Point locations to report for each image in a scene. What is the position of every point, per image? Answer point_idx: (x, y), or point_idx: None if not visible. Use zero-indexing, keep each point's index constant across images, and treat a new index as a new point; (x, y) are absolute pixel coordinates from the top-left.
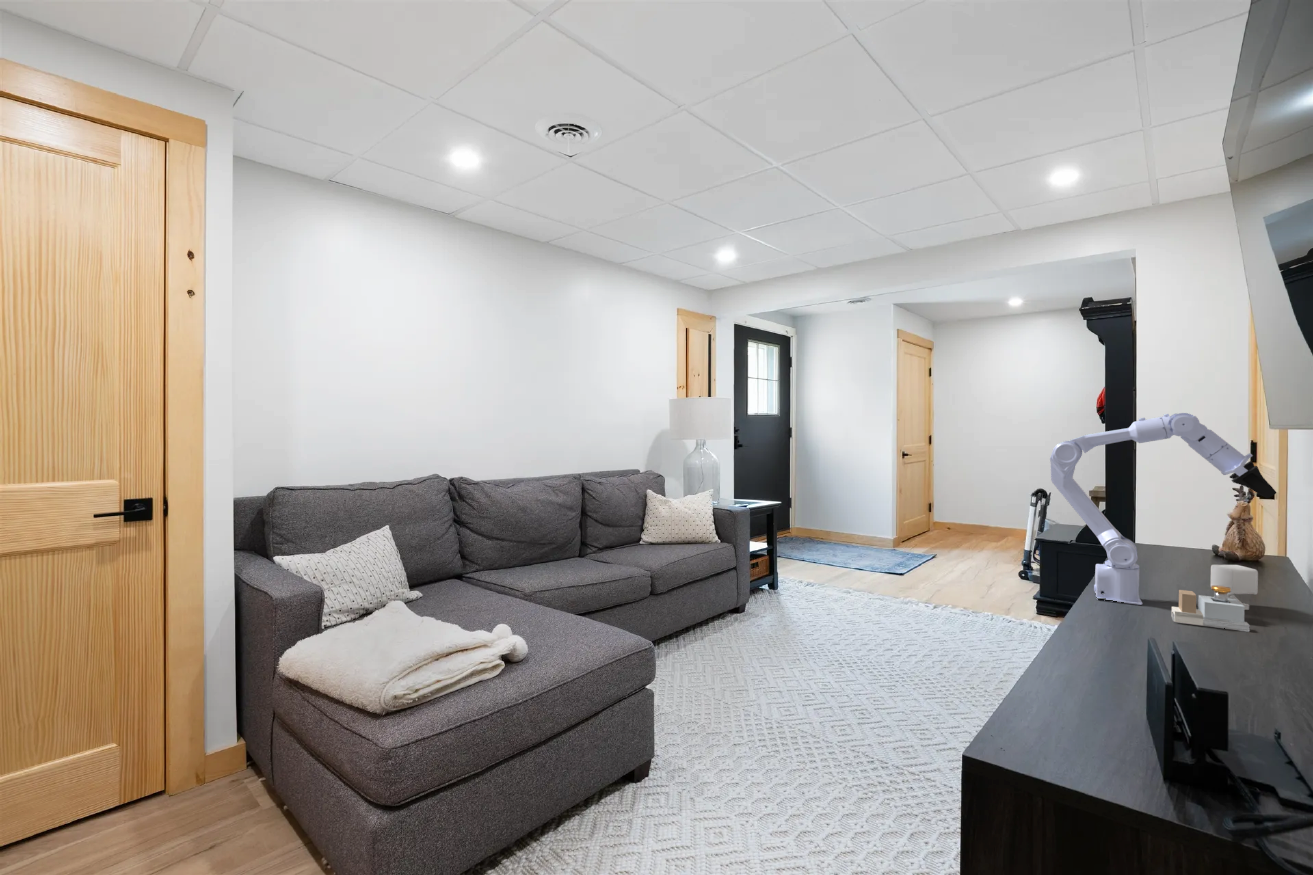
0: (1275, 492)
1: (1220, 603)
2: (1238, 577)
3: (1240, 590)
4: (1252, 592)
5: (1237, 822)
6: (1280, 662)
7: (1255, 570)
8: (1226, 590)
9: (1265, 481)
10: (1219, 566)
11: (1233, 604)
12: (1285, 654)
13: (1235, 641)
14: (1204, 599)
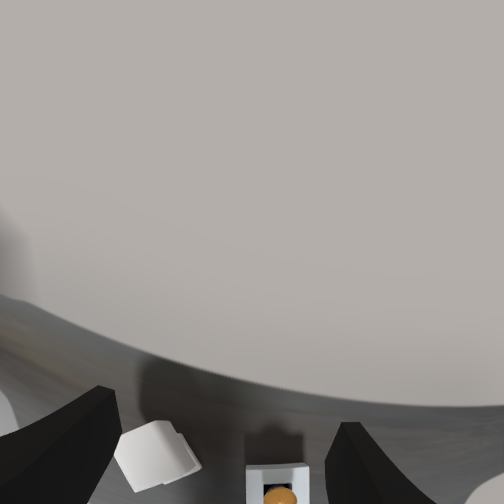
0: (361, 428)
1: (304, 498)
2: (182, 459)
3: (187, 452)
4: (174, 430)
5: None
6: (473, 424)
7: (154, 424)
8: (295, 495)
9: (414, 490)
10: (152, 486)
11: (301, 480)
12: (443, 421)
13: (418, 471)
14: None
